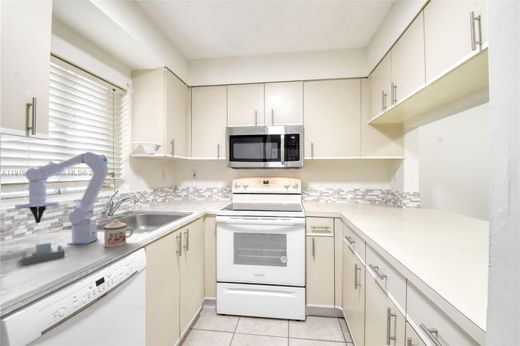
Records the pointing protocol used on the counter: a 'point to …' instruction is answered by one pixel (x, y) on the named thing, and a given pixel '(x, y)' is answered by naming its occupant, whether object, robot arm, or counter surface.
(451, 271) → the counter surface
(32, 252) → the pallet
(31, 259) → the dock
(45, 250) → the pale blue cube
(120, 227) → the teacup with lid
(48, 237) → the counter surface
